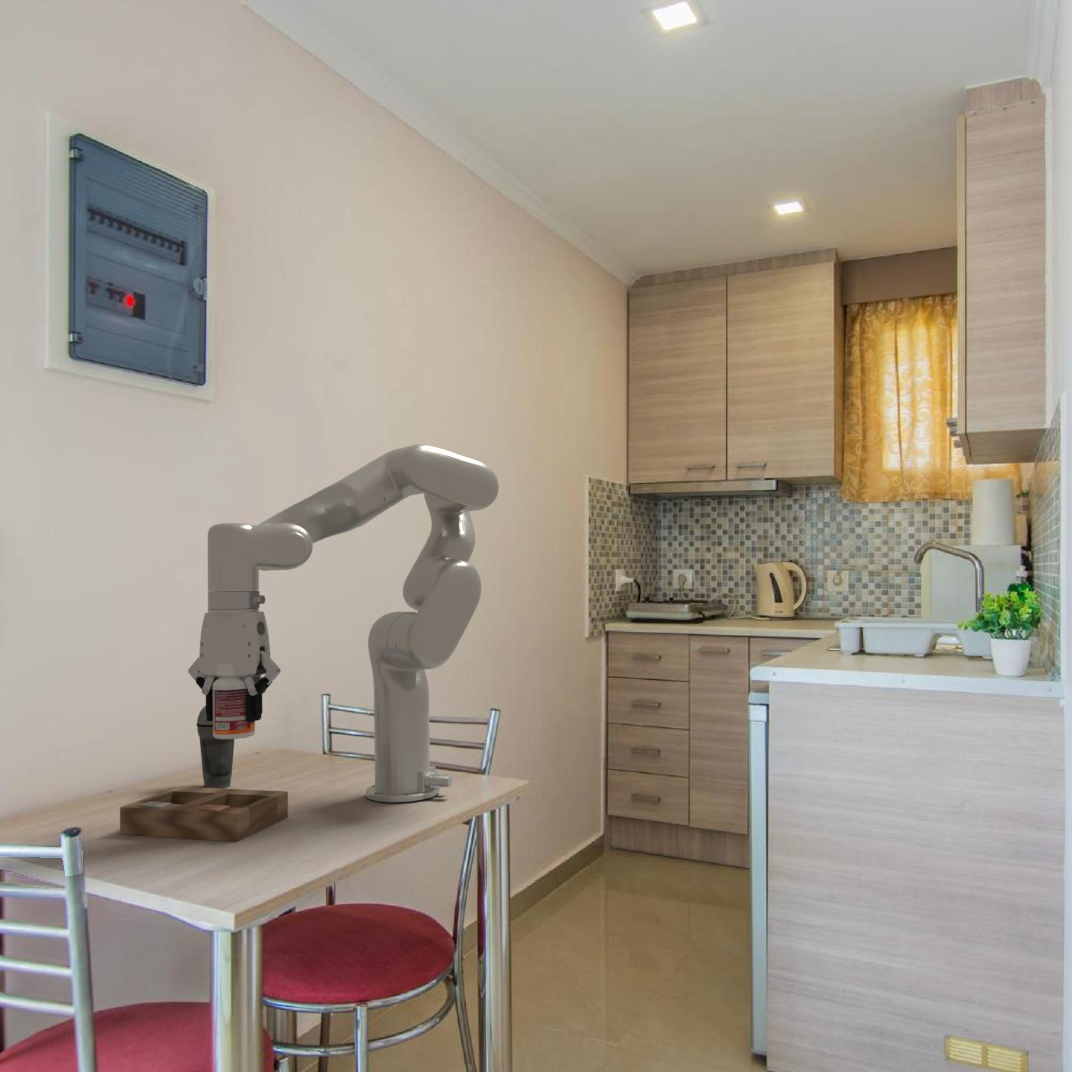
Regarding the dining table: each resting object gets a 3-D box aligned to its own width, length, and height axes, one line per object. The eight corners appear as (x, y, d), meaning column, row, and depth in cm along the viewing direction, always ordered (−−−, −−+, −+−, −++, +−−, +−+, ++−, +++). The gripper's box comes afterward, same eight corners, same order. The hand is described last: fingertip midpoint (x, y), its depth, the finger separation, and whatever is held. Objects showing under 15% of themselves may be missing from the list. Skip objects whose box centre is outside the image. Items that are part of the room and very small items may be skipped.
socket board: (288, 817, 147) (287, 789, 147) (236, 841, 133) (236, 811, 133) (179, 811, 152) (179, 784, 152) (120, 834, 138) (120, 805, 139)
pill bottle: (259, 737, 141) (259, 662, 141) (218, 741, 137) (218, 665, 138) (248, 731, 146) (247, 660, 147) (208, 736, 143) (208, 662, 143)
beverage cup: (230, 790, 166) (229, 679, 167) (190, 791, 167) (189, 679, 167) (243, 781, 174) (243, 674, 175) (205, 782, 174) (204, 675, 175)
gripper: (296, 601, 144) (296, 718, 143) (200, 603, 149) (200, 715, 148) (269, 603, 137) (270, 725, 136) (169, 604, 142) (170, 723, 141)
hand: (234, 719), depth 142 cm, fingers closed on pill bottle, 6 cm apart
